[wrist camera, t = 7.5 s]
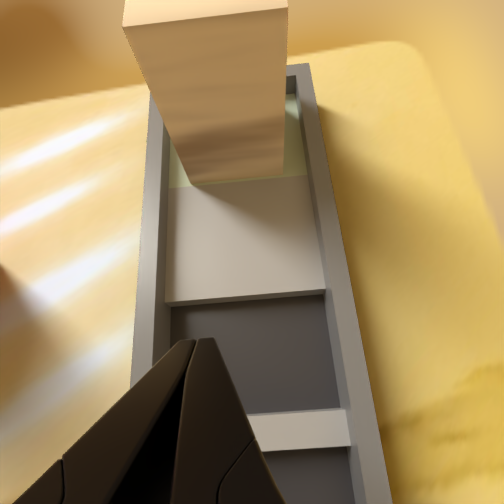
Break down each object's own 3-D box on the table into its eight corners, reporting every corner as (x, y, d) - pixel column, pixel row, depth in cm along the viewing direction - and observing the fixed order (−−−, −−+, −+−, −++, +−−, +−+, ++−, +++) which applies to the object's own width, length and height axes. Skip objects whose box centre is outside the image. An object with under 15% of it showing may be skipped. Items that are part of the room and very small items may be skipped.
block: (283, 174, 21) (288, 7, 11) (190, 183, 21) (122, 26, 12) (274, 104, 23) (272, -84, 14) (190, 113, 23) (133, -65, 14)
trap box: (397, 628, 14) (428, 691, 11) (141, 639, 14) (108, 702, 11) (305, 98, 25) (308, 63, 22) (164, 113, 25) (150, 80, 23)
